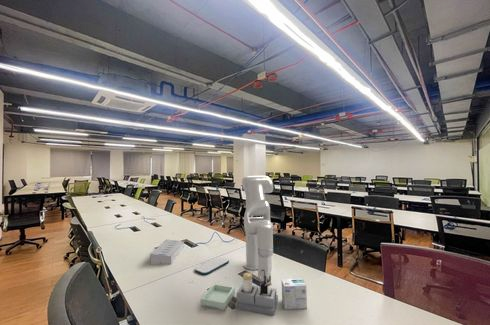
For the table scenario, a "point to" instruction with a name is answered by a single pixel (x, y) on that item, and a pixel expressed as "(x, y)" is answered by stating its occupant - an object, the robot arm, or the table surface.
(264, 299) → the panel
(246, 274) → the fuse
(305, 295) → the light bulb box
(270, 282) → the fuse
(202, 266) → the external hard drive
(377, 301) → the table surface
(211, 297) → the parts tray
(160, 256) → the warehouse
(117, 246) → the table surface
